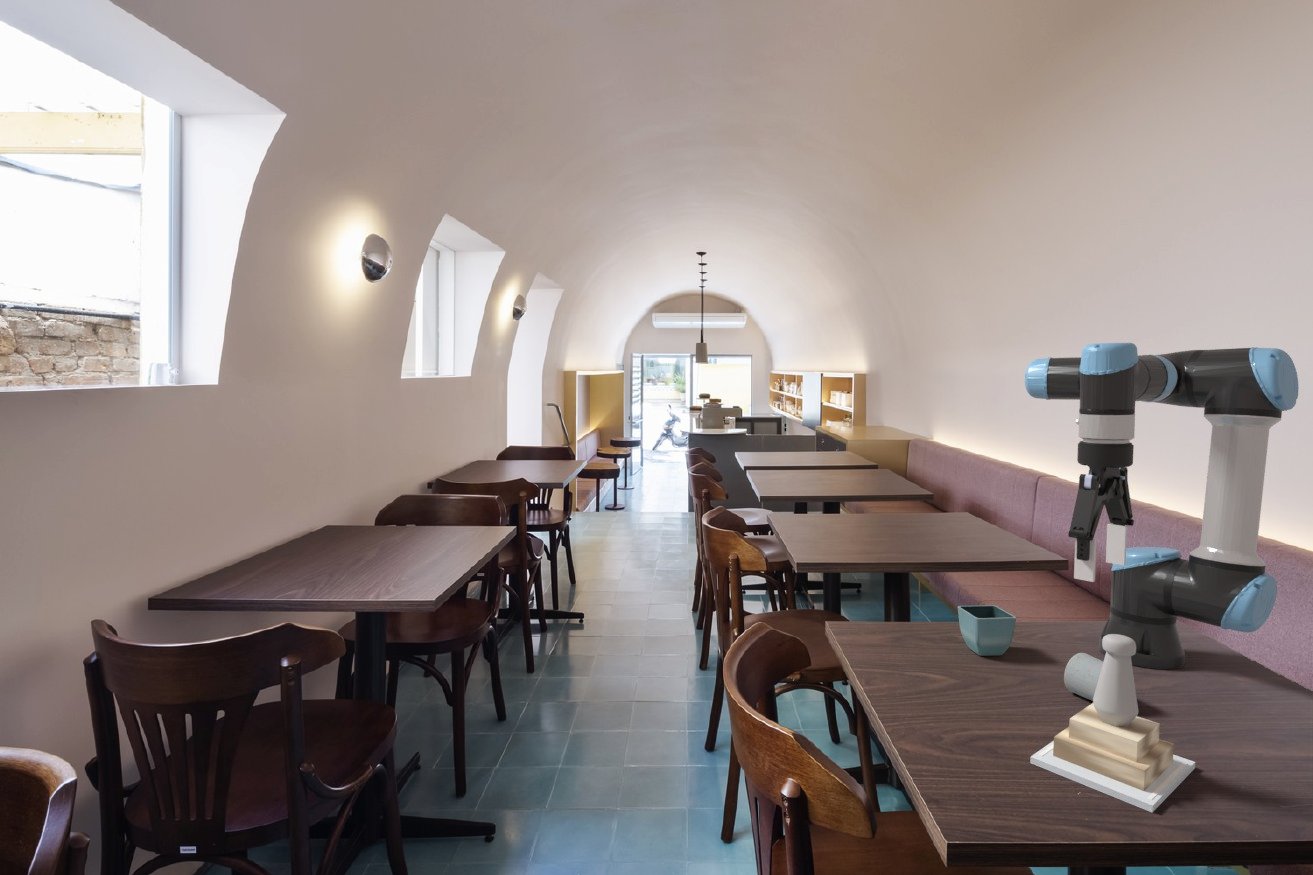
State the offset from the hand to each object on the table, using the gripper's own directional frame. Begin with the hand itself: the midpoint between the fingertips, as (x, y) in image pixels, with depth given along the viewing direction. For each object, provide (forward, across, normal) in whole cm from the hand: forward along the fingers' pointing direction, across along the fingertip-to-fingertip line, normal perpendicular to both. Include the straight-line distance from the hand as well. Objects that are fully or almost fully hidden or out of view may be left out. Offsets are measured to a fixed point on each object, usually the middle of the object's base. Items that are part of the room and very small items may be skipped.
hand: (1100, 571), depth 115 cm
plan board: (+27, +9, +5) cm, 29 cm away
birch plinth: (+27, +9, +5) cm, 29 cm away
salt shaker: (+20, +8, +5) cm, 23 cm away
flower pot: (+28, -22, -29) cm, 46 cm away
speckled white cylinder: (+28, -16, -4) cm, 33 cm away
